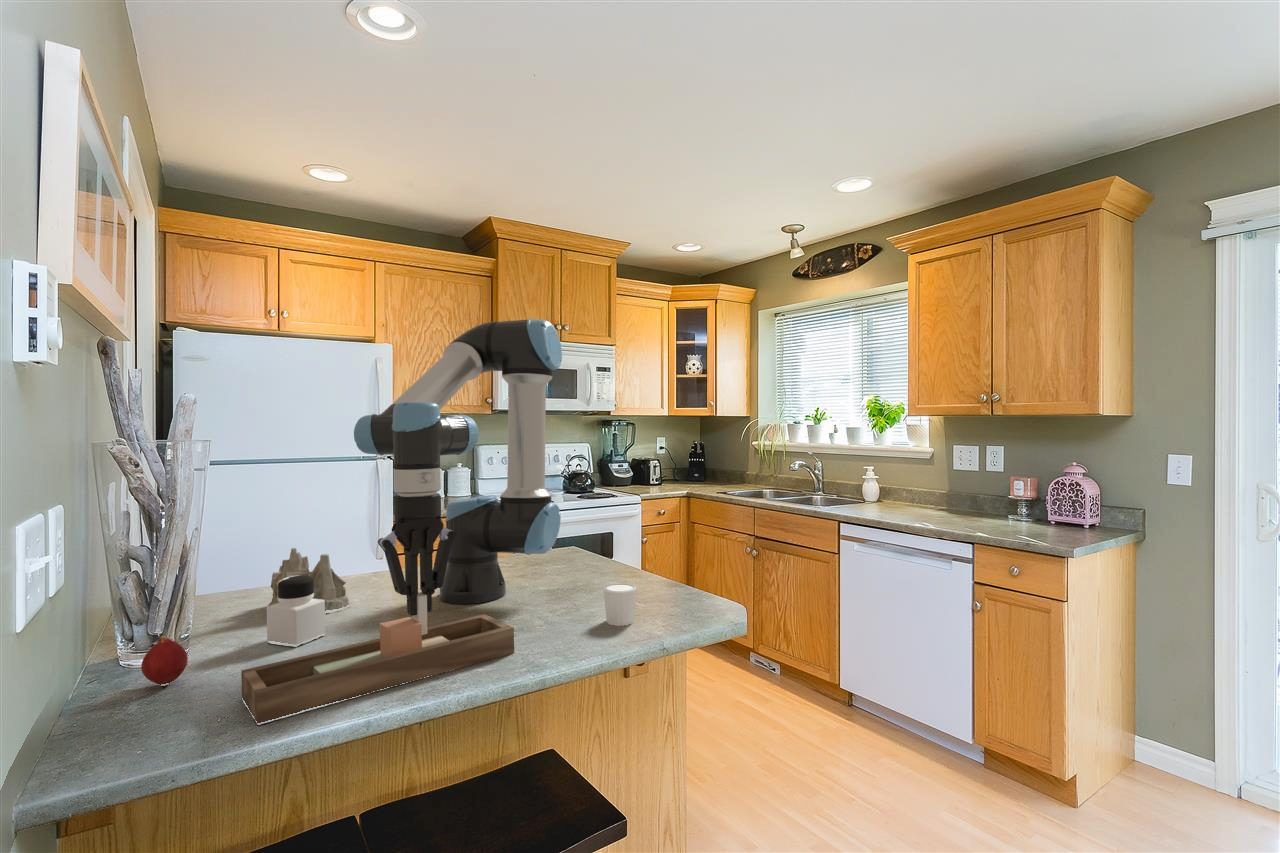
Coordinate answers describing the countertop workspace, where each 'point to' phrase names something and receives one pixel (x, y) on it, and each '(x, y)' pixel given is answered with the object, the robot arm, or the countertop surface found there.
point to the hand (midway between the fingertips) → (419, 632)
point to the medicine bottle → (295, 612)
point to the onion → (164, 661)
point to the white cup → (620, 604)
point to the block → (400, 636)
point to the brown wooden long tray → (370, 667)
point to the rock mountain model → (323, 577)
